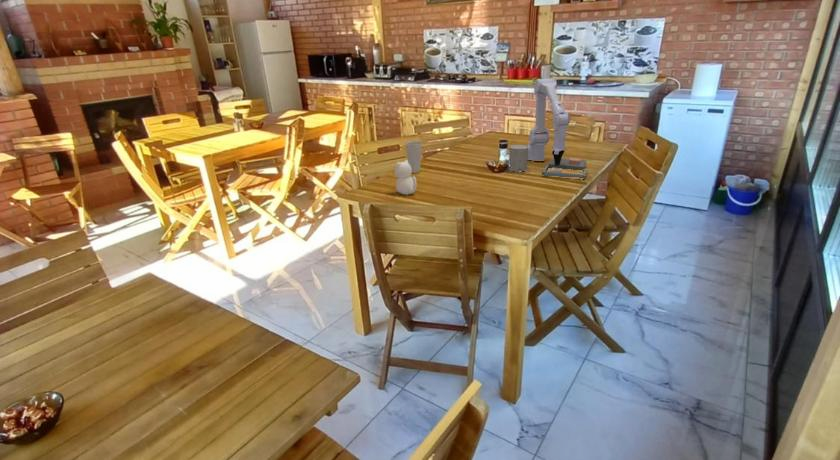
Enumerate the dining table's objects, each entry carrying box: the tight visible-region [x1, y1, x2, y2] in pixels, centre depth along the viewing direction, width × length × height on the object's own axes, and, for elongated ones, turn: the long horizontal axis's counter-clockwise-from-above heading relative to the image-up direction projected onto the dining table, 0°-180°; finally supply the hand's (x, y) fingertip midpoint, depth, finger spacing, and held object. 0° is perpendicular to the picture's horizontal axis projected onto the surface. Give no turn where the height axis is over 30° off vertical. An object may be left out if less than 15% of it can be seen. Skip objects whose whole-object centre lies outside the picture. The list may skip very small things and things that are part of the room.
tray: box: [541, 164, 588, 178], centre depth 226 cm, size 20×13×2 cm, turn 66°
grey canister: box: [508, 144, 528, 173], centre depth 234 cm, size 10×10×12 cm
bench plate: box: [548, 157, 587, 170], centre depth 237 cm, size 17×14×3 cm
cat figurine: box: [394, 159, 418, 196], centre depth 205 cm, size 9×12×15 cm
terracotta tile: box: [569, 157, 581, 165], centre depth 234 cm, size 5×5×2 cm
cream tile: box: [551, 168, 563, 173], centre depth 227 cm, size 5×5×2 cm
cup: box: [405, 140, 422, 174], centre depth 236 cm, size 8×8×16 cm
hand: (557, 164), depth 230 cm, fingers closed
